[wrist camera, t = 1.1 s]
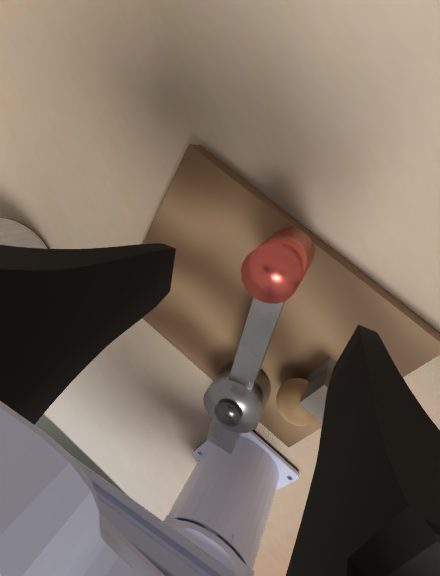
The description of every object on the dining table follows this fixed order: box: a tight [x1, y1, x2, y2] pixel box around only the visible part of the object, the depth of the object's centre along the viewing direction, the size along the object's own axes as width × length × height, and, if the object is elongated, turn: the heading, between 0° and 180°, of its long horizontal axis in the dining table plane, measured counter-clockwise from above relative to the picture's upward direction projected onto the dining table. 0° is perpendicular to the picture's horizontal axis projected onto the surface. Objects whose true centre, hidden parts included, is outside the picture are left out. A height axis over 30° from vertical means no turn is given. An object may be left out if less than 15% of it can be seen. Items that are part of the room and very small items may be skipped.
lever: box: [204, 228, 315, 454], centre depth 21 cm, size 18×4×5 cm, turn 167°
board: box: [143, 145, 440, 447], centre depth 22 cm, size 15×20×5 cm
